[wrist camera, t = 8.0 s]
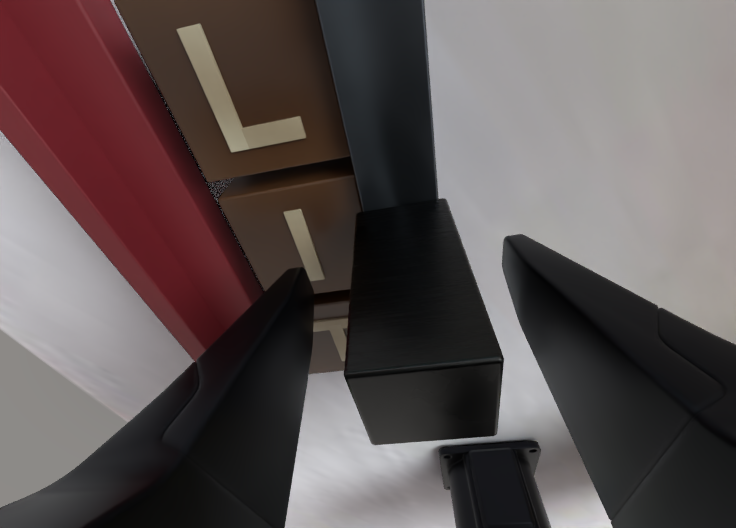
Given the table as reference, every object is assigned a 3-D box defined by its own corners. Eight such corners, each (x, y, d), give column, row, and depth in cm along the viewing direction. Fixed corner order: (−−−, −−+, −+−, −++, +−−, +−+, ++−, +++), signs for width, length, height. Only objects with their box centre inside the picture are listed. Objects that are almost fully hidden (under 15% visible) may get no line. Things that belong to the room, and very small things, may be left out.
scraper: (446, 336, 16) (489, 534, 10) (395, 342, 16) (408, 538, 10) (410, -139, 7) (632, -931, 1) (296, -107, 7) (-51, -564, 1)
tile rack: (296, 353, 17) (286, 403, 15) (249, 359, 17) (233, 407, 15) (88, -44, 8) (-11, -57, 6) (-3, -17, 8) (-129, -21, 6)
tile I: (380, 250, 13) (381, 288, 11) (280, 265, 13) (267, 303, 12) (358, 147, 10) (356, 176, 9) (237, 170, 11) (214, 201, 9)
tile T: (396, 328, 16) (399, 367, 14) (313, 338, 16) (306, 376, 15) (382, 260, 13) (383, 298, 12) (285, 275, 14) (273, 312, 12)
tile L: (355, 132, 10) (352, 158, 9) (231, 156, 11) (206, 185, 9) (318, -44, 8) (304, -55, 6) (160, -2, 8) (108, -2, 7)
